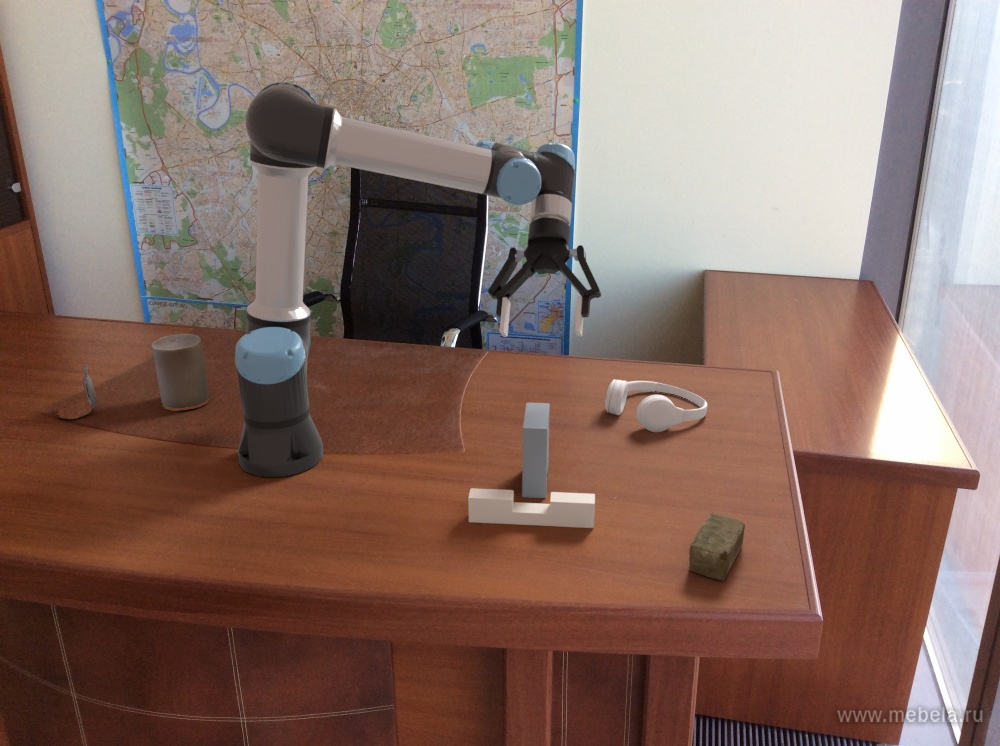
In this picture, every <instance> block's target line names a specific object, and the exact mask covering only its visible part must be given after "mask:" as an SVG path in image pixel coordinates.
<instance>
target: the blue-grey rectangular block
mask: <svg viewBox="0 0 1000 746" xmlns="http://www.w3.org/2000/svg"><path fill="white" fill-rule="evenodd" d="M550 404H551V403H548V402H547V403H546V402H545V403H544V402H526V404H525V409H524V410H525V411H524V418H523V423H522V452H521V453H522V458H521V459H522V461H521V462H522V464H521V471H522V475H521V476H522V477H521V479H522V480H521V482H522V483H521V497H522V498H532V499H533V498H535V499H539V498H540V499H547V488H548V487H547V483H548V479H547V477H548V476H549V475H548V474H549V455H550V454H549V453H550V446H549V445H550V443H549V441H550V408H551V407H550Z"/></svg>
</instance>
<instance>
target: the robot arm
mask: <svg viewBox="0 0 1000 746" xmlns="http://www.w3.org/2000/svg"><path fill="white" fill-rule="evenodd" d="M246 110H247V111H246V113H245V129H246V133H247V136H248V139H249V161H250V163H251V164H252V165H253V166H254V167H255V169H256V170H257V172H258V181H257V182H258V183H257V187H258V188H257V220H256V222H257V224H256V225H257V226H256V227H257V228H256V261H255V263H256V266H255V271H256V272H255V299H254V301H253V302H251V303H250V304H249V305H247V307H246V326H245V327H246V329H245V330H246V332H245V333H246V334H244V335H242V337H240V338H239V339H238V341H237V342H236V345H235V349H234V351H235V354H234V364H235V367H236V371H237V378H238V386H239V394H240V401H241V408H242V417H243V428H242V432H241V436H240V441H239V445H238V448H237V449H238V450H237V456H238V463H239V464H240V465H239V467H240V466H241V467H240V468H241V470H243V469H244V470H245V471H247V472H249V473H251V474H250V475H252V474H255V475H254V476H256V475H259V476H258V477H261V476H264V477H263V478H279V477H288V476H292V475H297V474H300V473H303V472H305V471H308V470H310V469H312V468H314V467H316V465H318V464H319V463H320V462H321V460H322V459H323V457H324V445H323V440H322V438H321V435H320V433H319V431H318V429H317V426H316V425H315V423H314V420H313V418H312V416H311V412H310V400H309V399H310V398H309V390H308V380H307V379H308V377H307V372H308V361H309V359H308V358H309V352H310V348H311V335H310V333H311V331H310V330H311V327H310V326H311V309H310V308H309V307H308V306H307V305H306V304H305V303H304V301H303V300H304V278H305V277H304V276H305V261H306V260H305V258H306V256H305V254H306V237H307V236H306V235H307V233H306V232H307V213H308V212H307V211H308V190H309V189H308V187H309V176H310V174H311V173H312V172H314V171H315V170H316V169H317V168H322V169H328V168H330V167H331V166H333V165H339V166H343V167H348V168H352V169H353V168H354V169H358V170H363V171H367V172H373V173H378V174H382V175H383V174H384V175H388V176H394V177H398V178H401V179H402V178H403V179H406V180H407V179H408V180H412V181H417V182H422V183H428V184H432V185H437V186H442V187H446V188H452V189H457V190H461V191H467V192H470V193H471V192H472V193H477V194H480V195H484V196H488V197H493V198H499V199H502V201H505V202H506V203H508V204H511V205H514V206H523V205H527V204H529V203H531V205H530V212H529V214H530V215H529V226H528V235H527V246H526V248H525V249H524V250H523V249H516V247H514V246H513V247H510V249H509V251H508V256H507V259H506V260H505V262H504V264H503V266H502V267H501V268H500V271H499V272H498V274H497V275H496V276H495V279H494V280H493V282H492V283H491V285H490V286H489V288H488V290H487V293H488V294H489V296H490V298H491V299H493V300H497V302H496V308H495V309H496V310H495V313H496V316H497V317H498V319H500V324H499V330H498V332H499V333H500V334H501V336H502V338H507V337H508V334H509V333H508V332H509V325H510V324H509V323H510V311H511V301H510V300H509V299H510V298H511V297H512V296H513V295H514V294H515V293H516V292H517V291H518V290H519V289H520V287H522V285H524V284H525V283H526V281H528V279H529V278H531V277H533V276H534V275H535V274H536V273H537V274H538V275H544V274H551V275H554V274H557V273H558V272H560V273H561V274H562V275H563V277H565V279H566V280H567V281H568V282H569V283H570V285H571V286H572V287H573V288H574V289H575V291H576V292H577V293H579V296H577V298H576V299H577V301H576V311H575V312H576V314H575V325H574V327H575V329H574V332H575V334H576V337H580V338H581V337H583V327H584V318H589V316H590V311H591V301H592V300H593V299H599V298H601V296H602V292H601V290H600V288H599V285H598V283H597V281H596V279H595V277H594V275H593V272H592V270H591V268H590V266H589V264H588V262H587V253H586V249H585V248H584V245H582V244H581V245H580V244H579V245H578V246H576V248H571V249H570V246H569V245H570V236H571V227H570V226H571V222H572V221H571V220H572V210H573V209H572V207H573V205H572V204H573V193H574V185H575V177H576V159H575V158H576V157H575V156H576V155H575V154H574V151H573V150H572V149H571V148H570V147H569V146H567V145H566V144H563V143H558V142H555V143H551V142H548V143H544V144H542V145H540V146H539V147H538V148H537V150H536V151H529V150H526V149H522V148H518V147H515V146H511V145H508V144H507V145H506V144H502V143H499V142H497V141H488V140H485V139H483V140H482V139H481V140H479V141H478V142H476V144H475V145H471V144H465V143H461V142H457V141H453V140H450V139H444V138H439V137H436V136H435V137H434V136H430V135H426V134H420V133H416V132H412V131H408V130H402V129H399V128H396V127H389V126H386V125H381V124H376V123H371V122H367V121H362V120H358V119H353V118H350V117H346V116H345V117H344V116H342V115H341V114H340V112H339V111H338V110H337V108H335V107H330V106H325V105H322V104H319V103H318V102H317V100H316V99H315V97H314V96H313V95H312V94H311V93H310V92H309V91H308V90H307V89H306V88H304V87H302V86H301V85H298V84H295V83H290V82H287V81H286V82H281V81H278V82H274V83H273V82H272V83H270V84H268V85H266V86H265V87H263V88H262V89H260V91H258V93H257V94H256V96H255V97H254V98H253V99H252V100H251V102H250V104H249V106H248V107H247V109H246ZM571 257H573V258H574V260H575V261H576V262H578V263H579V265H580V267H581V270H582V272H583V274H584V277H585V278H586V281H587V283H588V285H589V287H590V288H589V289H587V287H586V286H584V284H583V283H582V281H580V279H578V277H577V276H576V275H575V273H573V272H572V270H571V269H570V268H569V267H568V265H567V264H566V263H567V262H568V261H569V259H570V258H571ZM523 258H525V260H526V261H525V262H524V263H523V264H522V266H521V267H520V269H519V270H518V271H517V272H516V273H515V274H514V275H513V276H512V274H513V273H514V271H515V270H516V268H517V266H518V263H521V261H522V260H523ZM511 276H512V277H511ZM509 279H510V280H509ZM244 470H243V471H244ZM245 471H244V472H245ZM247 472H246V473H247ZM249 473H248V474H249Z"/></svg>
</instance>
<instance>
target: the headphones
mask: <svg viewBox="0 0 1000 746" xmlns="http://www.w3.org/2000/svg"><path fill="white" fill-rule="evenodd" d="M607 387H608V388H607V391H606V395H605V401H604V402H605V403H604V407H605V410H606V413H610V414H611V415H615V416H620V415H622V413H623V411H624V408H625V406H626V401H627V397H628V393H633V392H649V393H655V392H654V391H660V392H666V393H671V394H675V395H678V396H681V397H683V398H682V399H684V398H686V399H688V400H687V401H689V400H690V401H689V402H691V403H692V404H694V405H696V406H698V407H699V408H693V409H683V408H682V407H677V406H675V404H674V403H673V401H672V400H671V399H670V398H668V397H667V396H666V395H662V394H651V395H649V396H647V397H644V398H643V399H642V400H641V401H640V402H639V403H638V406H637V408H636V413H635V414H636V415H635V416H636V420H637V421H638V422H639V424H640V425H641V427H643V428H645V429H646V430H647V431H648V432H649V431H650V432H652V433H661V432H662V433H663V432H664V431H666V430H670V428H672V427H674V426H677V425H678V424H681V423H682V422H692V421H697V420H701V419H703V418H705V417H706V414H707V411H708V402H707V401H706V400H705V399H704V398H703V397H701V396H700V395H697V394H696V393H693V392H691V391H689V390H687V389H683V388H681V387H677V386H674V385H670V384H666V383H661V382H656V381H650V380H634V381H633V380H631V381H627V380H625V379H624V380H621V379H615V378H614V379H612V380H611V382H610V383H609V385H608V386H607ZM651 391H653V392H651ZM675 395H674V396H675ZM678 396H677V397H678ZM681 397H680V398H681ZM686 399H685V400H686Z"/></svg>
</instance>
